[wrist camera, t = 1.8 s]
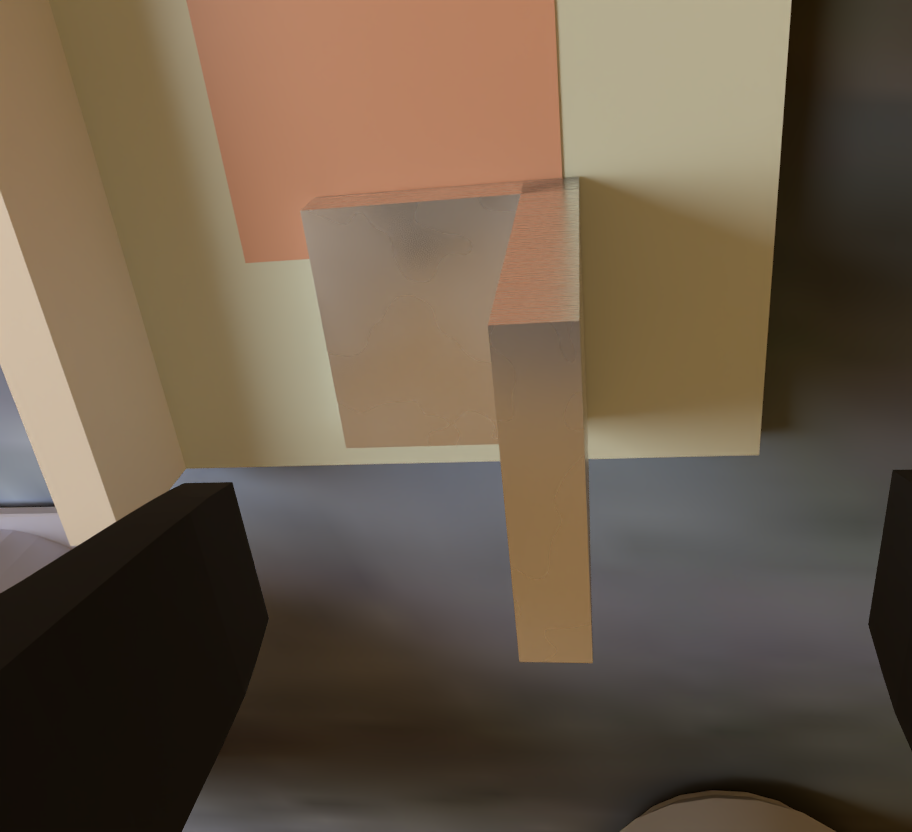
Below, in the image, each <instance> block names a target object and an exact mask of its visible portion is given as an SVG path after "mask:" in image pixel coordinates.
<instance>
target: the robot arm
mask: <svg viewBox="0 0 912 832" xmlns="http://www.w3.org/2000/svg"><path fill="white" fill-rule="evenodd" d="M268 619H269V618H268V614H267V610H266V607H265V603H264V599H263V595H262V592H261V588H260V584H259V580H258V577H257V573H256V569H255V566H254V562H253V558H252V554H251V551H250V547H249V543H248V539H247V536H246V532H245V528H244V524H243V521H242V517H241V513H240V509H239V506H238V502H237V498H236V494H235V491H234V487H233V483H232V482H225V483H184V484H182V485H180V486H177V487H175V488H173V489H171V490H169V491H167V492H165V493H164V494H162V495H160V496H158V497H156V498H155V499H153V500H151V501H149V502H148V503H146V504H144V505H143V506H141V507H139V508H138V509H136V510H134V511H133V512H131V513H129V514H128V515H126V516H124V517H123V518H121V519H120V520H118V521H116V522H115V523H113V524H111V525H110V526H108V527H107V528H105V529H104V530H102V531H100V532H99V533H97V534H96V535H94V536H92V537H91V538H89V539H88V540H86V541H84V542H83V543H81V544H80V545H78V546H70V544H69V541H68V538H67V536H66V533H65V531H64V528H63V525H62V523H61V520H60V518H59V515H58V512H57V510H56V507H13V508H0V832H182V830H183V828H184V826H185V823H186V821H187V819H188V817H189V815H190V813H191V811H192V809H193V807H194V804H195V802H196V800H197V798H198V796H199V794H200V792H201V790H202V787H203V785H204V783H205V781H206V779H207V777H208V775H209V773H210V771H211V768H212V766H213V764H214V762H215V760H216V758H217V756H218V753H219V751H220V749H221V747H222V745H223V743H224V740H225V738H226V736H227V734H228V732H229V730H230V727H231V725H232V723H233V721H234V719H235V717H236V714H237V712H238V710H239V708H240V705H241V703H242V701H243V699H244V696H245V694H246V691H247V687H248V684H249V681H250V678H251V675H252V672H253V669H254V666H255V663H256V660H257V657H258V653H259V650H260V646H261V643H262V640H263V636H264V633H265V629H266V626H267V622H268ZM868 625H869V629H870V632H871V635H872V639H873V642H874V646H875V649H876V653H877V656H878V660H879V663H880V667H881V670H882V673H883V677H884V680H885V683H886V686H887V689H888V692H889V695H890V699H891V702H892V705H893V708H894V711H895V714H896V716H897V718H898V721H899V723H900V725H901V728H902V730H903V732H904V734H905V737H906V739H907V741H908V743H909V746H910V748H911V750H912V470H893V472H892V479H891V485H890V491H889V497H888V504H887V510H886V516H885V523H884V529H883V535H882V542H881V548H880V554H879V560H878V567H877V573H876V579H875V586H874V592H873V598H872V605H871V611H870V617H869V623H868Z"/></svg>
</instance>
